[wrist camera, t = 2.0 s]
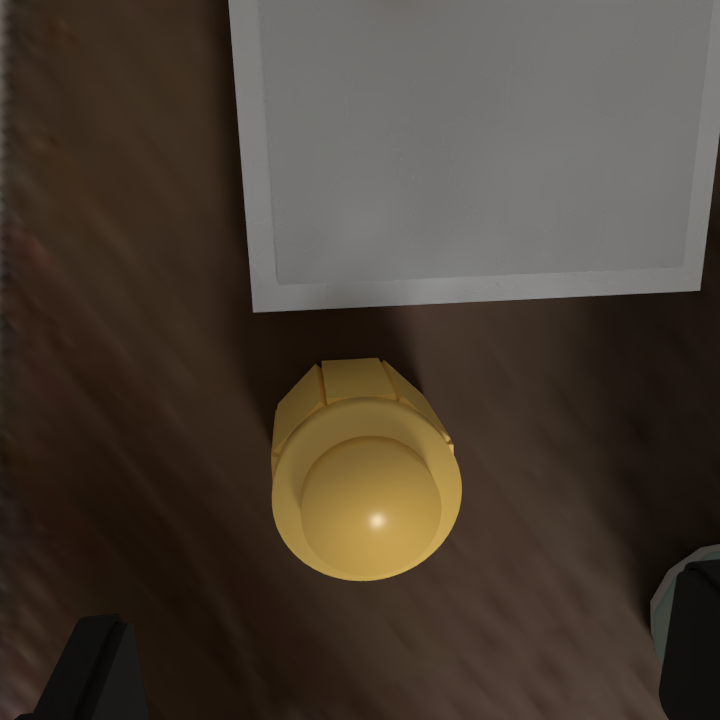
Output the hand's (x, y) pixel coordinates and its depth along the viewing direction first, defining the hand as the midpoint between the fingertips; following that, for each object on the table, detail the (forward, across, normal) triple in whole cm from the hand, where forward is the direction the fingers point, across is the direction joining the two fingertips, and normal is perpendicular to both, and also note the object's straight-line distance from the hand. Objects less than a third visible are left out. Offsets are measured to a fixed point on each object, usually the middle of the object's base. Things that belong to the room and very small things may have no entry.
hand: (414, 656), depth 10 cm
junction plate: (+12, -4, -12) cm, 18 cm away
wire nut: (+12, 0, +1) cm, 12 cm away
